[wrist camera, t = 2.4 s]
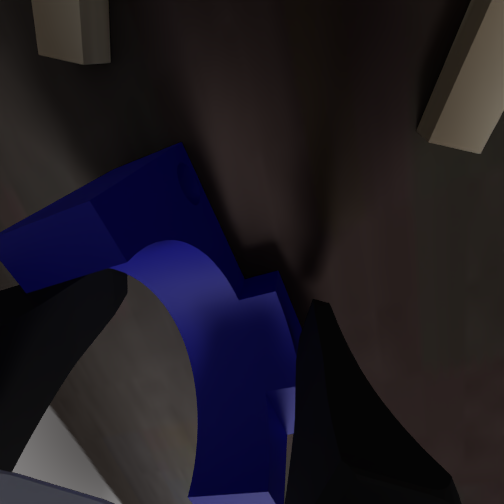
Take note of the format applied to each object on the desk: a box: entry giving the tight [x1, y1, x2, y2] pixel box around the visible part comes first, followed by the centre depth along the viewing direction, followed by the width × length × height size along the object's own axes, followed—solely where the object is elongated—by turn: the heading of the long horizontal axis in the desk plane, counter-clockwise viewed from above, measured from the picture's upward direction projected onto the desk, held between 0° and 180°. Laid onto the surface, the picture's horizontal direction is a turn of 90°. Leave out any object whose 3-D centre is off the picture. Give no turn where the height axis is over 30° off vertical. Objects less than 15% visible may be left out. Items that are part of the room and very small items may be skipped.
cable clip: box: [0, 142, 302, 504], centre depth 12 cm, size 12×4×6 cm, turn 22°
